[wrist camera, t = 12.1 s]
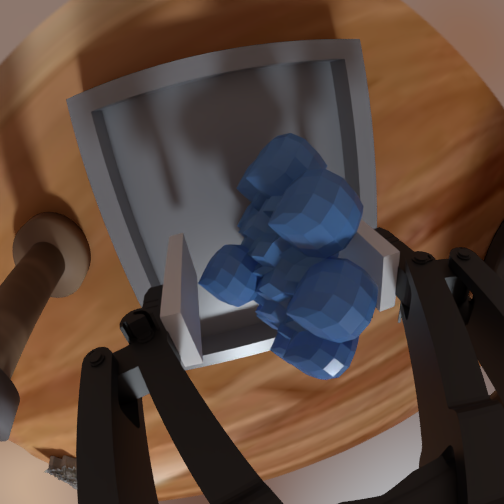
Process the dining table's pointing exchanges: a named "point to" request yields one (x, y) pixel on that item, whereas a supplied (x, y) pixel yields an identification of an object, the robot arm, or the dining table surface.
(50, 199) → the dining table surface
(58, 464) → the egg carton
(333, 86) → the holder tray
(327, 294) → the grapes
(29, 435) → the dining table surface
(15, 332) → the post
